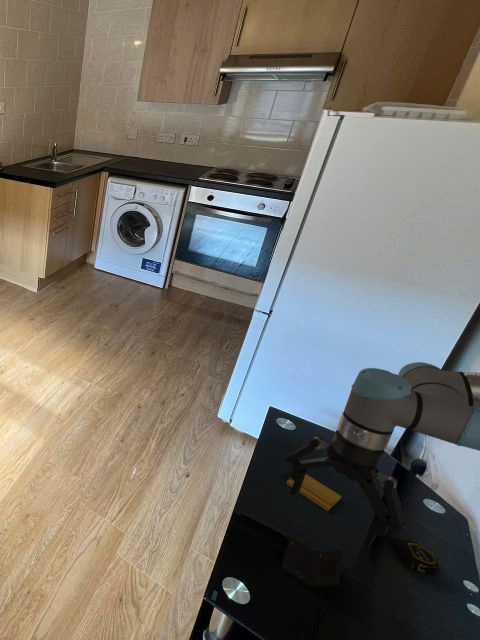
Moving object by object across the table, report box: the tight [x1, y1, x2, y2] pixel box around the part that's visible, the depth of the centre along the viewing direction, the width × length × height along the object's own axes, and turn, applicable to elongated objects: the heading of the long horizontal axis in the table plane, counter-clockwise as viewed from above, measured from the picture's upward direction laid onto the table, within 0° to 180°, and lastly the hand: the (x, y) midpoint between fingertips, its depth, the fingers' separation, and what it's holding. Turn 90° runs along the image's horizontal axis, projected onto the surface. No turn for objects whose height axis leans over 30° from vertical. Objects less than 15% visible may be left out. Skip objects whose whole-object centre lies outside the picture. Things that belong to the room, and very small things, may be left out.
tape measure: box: [390, 538, 439, 575], centre depth 97 cm, size 7×7×4 cm
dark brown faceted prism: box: [280, 537, 344, 591], centre depth 94 cm, size 12×7×10 cm
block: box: [285, 474, 343, 512], centre depth 116 cm, size 10×8×2 cm
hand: (329, 515), depth 90 cm, fingers open, 13 cm apart
